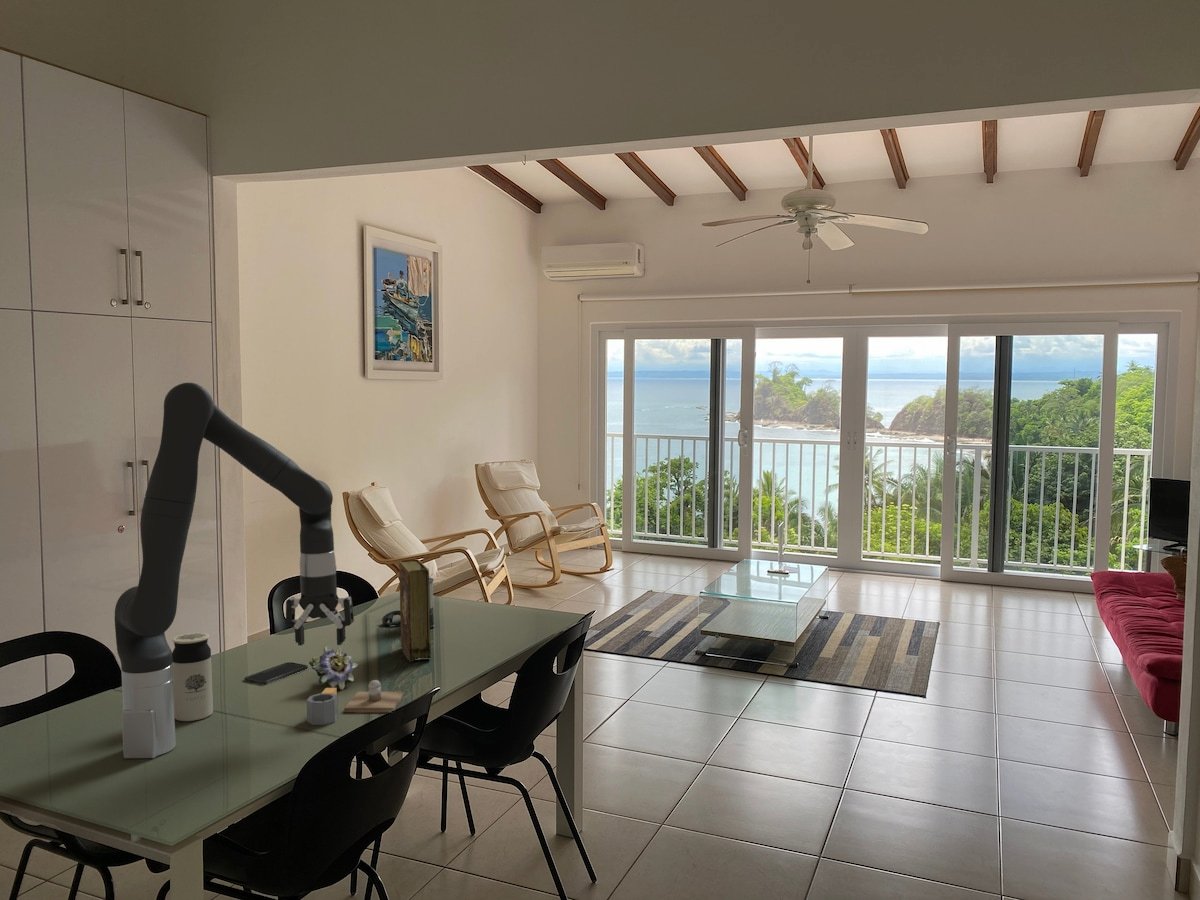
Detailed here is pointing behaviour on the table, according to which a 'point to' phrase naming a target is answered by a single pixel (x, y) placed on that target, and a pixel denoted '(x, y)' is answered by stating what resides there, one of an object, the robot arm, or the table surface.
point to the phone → (275, 673)
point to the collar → (323, 707)
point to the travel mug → (192, 677)
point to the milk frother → (389, 617)
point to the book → (414, 609)
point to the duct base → (374, 706)
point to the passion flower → (334, 668)
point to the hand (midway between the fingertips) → (320, 644)
